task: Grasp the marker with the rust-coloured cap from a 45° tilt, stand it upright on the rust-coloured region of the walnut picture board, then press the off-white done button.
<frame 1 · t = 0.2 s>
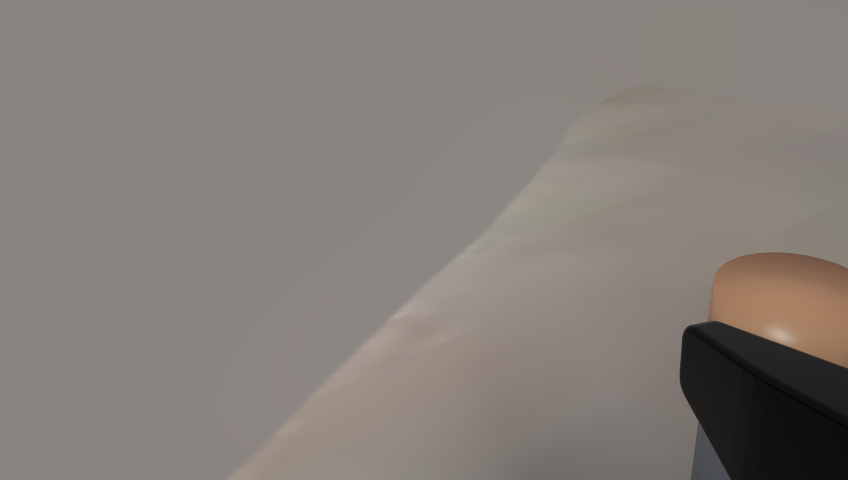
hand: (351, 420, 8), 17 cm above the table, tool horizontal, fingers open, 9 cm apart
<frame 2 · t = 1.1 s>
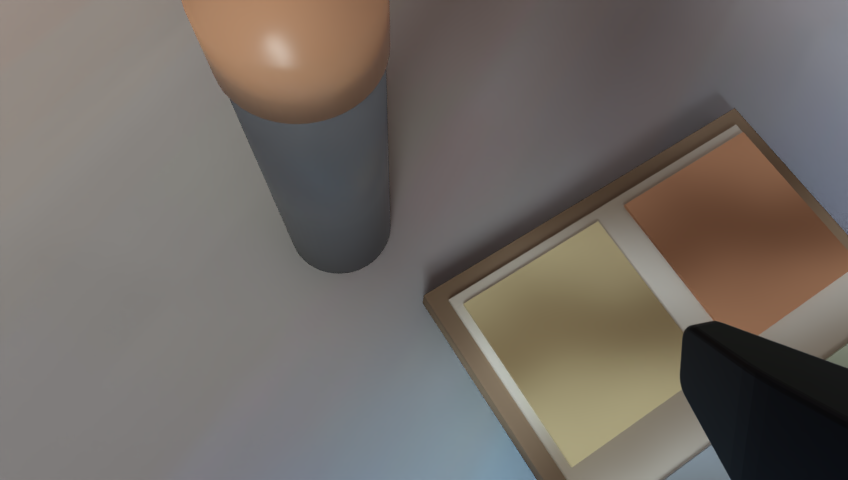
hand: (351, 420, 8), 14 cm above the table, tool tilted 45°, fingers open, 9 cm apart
marker: (340, 225, 24), on the table
picture board: (723, 392, 22), on the table
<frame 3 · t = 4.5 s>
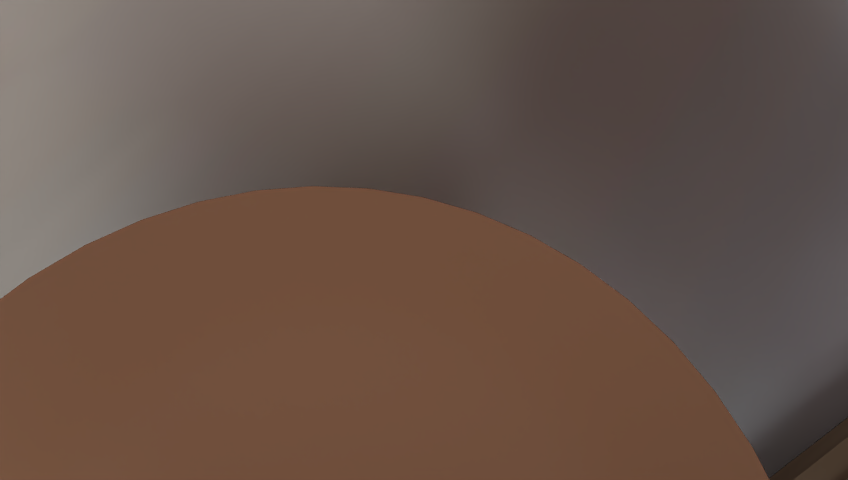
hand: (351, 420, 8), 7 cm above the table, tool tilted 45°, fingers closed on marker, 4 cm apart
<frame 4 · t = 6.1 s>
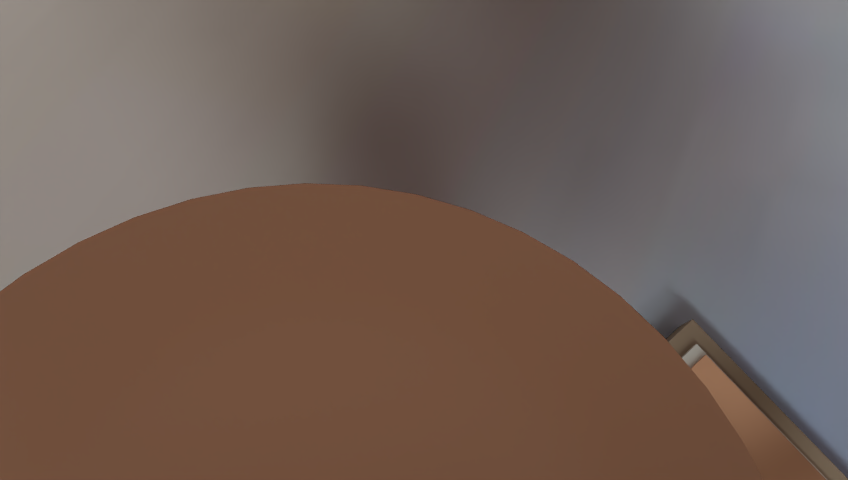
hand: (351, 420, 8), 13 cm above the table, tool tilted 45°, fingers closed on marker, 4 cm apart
when the fingers open (9 cm above the table, at t = 8.2 s): marker stays where it is, resting on picture board.
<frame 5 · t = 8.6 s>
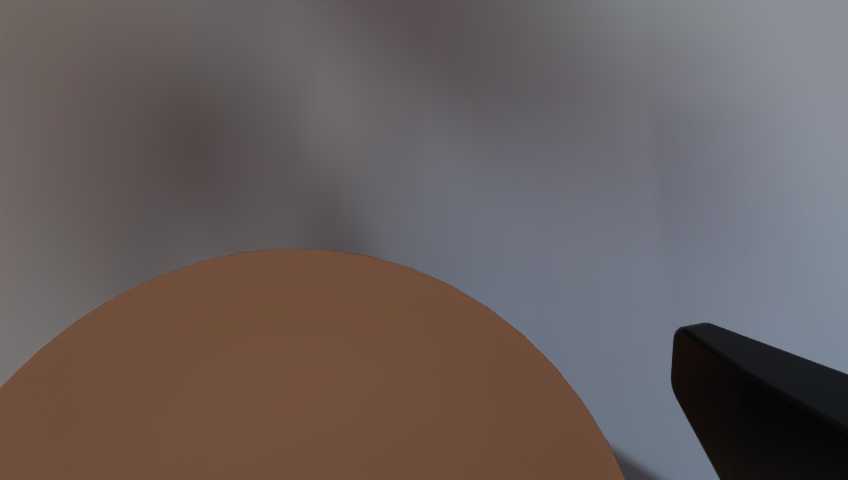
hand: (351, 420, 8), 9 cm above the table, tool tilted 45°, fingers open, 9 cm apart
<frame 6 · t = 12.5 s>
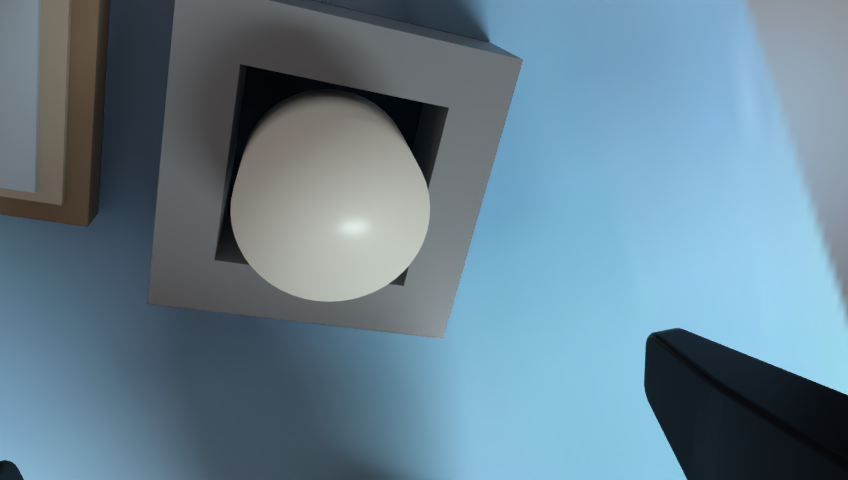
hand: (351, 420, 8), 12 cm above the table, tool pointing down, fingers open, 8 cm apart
button housing: (325, 151, 19), on the table
done button: (330, 192, 16), point 3 cm above the table, slide at 0.0 cm
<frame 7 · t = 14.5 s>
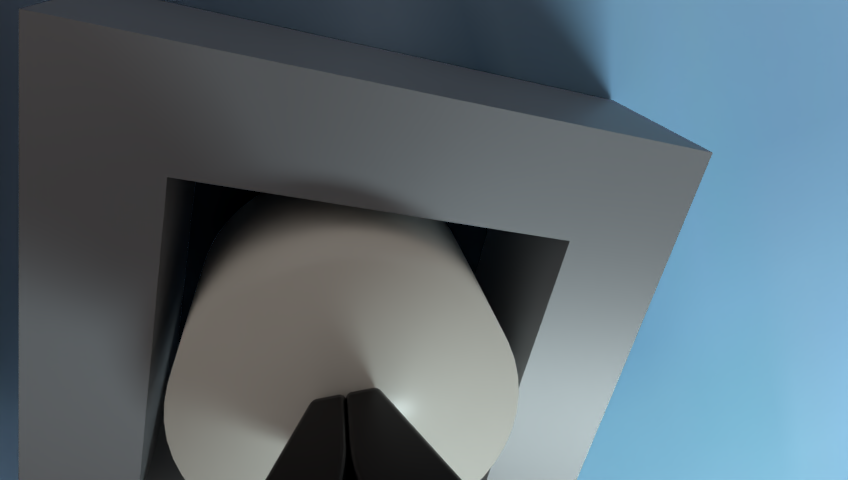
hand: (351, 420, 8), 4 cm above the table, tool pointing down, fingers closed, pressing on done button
button housing: (335, 277, 12), on the table
done button: (342, 349, 10), point 2 cm above the table, slide at 1.2 cm, touching gripper
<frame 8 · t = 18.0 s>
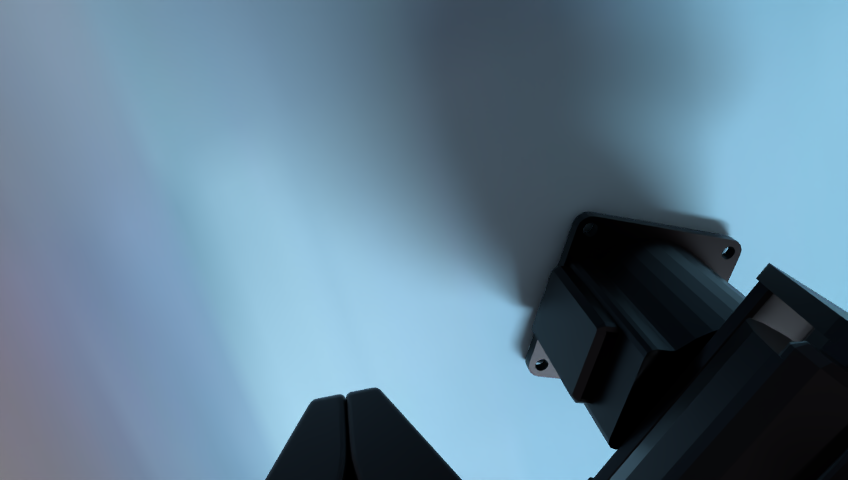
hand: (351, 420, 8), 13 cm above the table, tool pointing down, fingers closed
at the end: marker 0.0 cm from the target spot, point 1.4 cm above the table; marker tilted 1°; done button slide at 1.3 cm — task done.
